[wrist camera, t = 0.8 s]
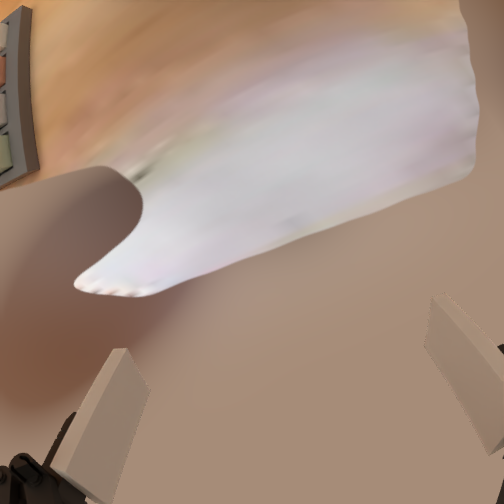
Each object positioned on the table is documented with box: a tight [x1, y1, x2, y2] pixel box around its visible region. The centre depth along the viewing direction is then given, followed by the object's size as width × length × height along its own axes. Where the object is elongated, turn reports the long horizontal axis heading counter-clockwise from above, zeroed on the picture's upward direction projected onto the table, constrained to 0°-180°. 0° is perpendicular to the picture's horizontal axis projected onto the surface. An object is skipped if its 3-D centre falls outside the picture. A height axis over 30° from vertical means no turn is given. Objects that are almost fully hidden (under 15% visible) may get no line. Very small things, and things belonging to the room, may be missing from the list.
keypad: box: [0, 5, 40, 189], centre depth 28 cm, size 30×12×3 cm, turn 10°
